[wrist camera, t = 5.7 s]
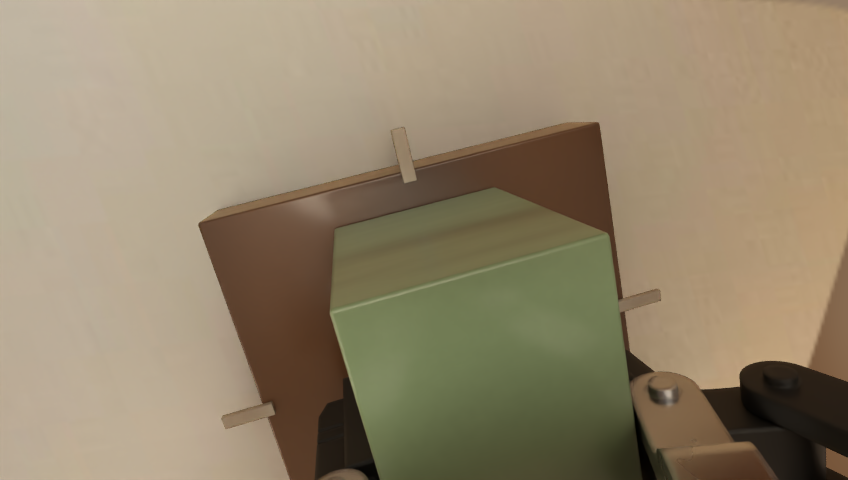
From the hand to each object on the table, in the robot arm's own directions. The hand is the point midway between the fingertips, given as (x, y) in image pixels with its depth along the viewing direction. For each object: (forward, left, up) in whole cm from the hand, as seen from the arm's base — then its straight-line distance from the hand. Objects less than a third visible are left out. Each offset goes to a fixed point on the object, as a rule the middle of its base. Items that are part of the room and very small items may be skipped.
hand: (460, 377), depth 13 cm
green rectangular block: (0, 0, -1) cm, 1 cm away
